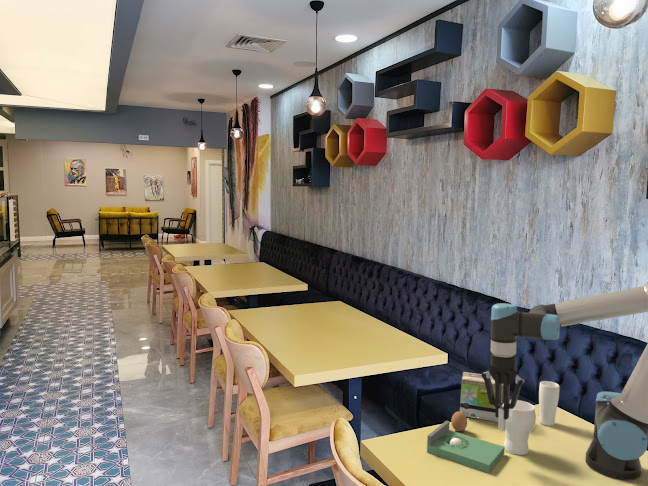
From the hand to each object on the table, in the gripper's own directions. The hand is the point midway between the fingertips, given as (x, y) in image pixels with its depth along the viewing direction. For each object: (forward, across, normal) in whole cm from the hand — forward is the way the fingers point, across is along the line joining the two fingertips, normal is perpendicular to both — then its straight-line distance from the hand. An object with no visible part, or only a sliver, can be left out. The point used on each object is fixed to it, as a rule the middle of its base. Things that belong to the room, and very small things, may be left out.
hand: (501, 428), depth 159 cm
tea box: (+10, +17, -31) cm, 37 cm away
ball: (+8, +14, +2) cm, 16 cm away
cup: (+11, -2, -11) cm, 15 cm away
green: (+10, +11, +2) cm, 15 cm away
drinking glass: (+11, -5, -40) cm, 42 cm away
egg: (+10, +18, -12) cm, 24 cm away
